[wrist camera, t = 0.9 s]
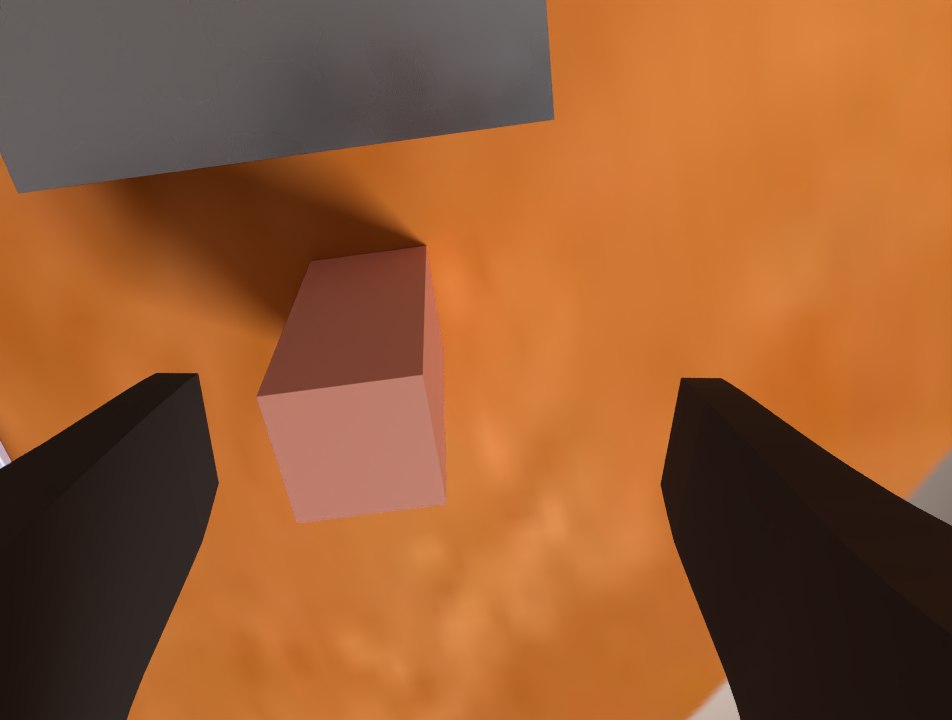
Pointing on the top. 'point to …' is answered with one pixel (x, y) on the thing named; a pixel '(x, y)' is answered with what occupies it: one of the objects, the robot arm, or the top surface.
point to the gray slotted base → (254, 80)
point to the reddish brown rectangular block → (360, 389)
